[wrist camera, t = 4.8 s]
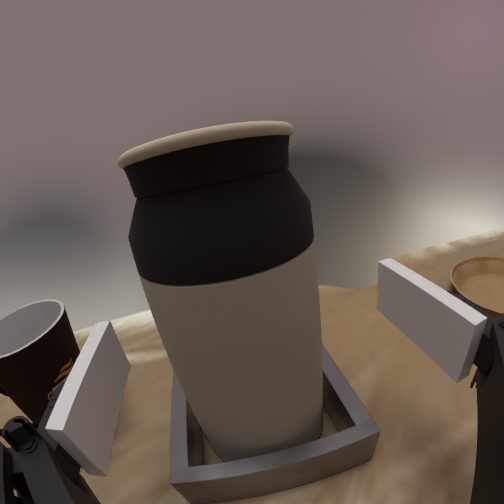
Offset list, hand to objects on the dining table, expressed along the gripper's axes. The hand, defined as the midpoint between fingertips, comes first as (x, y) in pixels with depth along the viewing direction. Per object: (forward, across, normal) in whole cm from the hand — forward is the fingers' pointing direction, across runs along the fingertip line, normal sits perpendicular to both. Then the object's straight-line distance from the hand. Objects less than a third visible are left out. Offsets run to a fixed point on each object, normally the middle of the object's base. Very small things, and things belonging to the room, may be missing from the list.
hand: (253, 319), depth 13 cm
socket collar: (+1, -1, -10) cm, 10 cm away
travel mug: (+1, -1, -10) cm, 10 cm away
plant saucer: (+4, +28, -10) cm, 31 cm away
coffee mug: (+3, -18, -10) cm, 20 cm away
